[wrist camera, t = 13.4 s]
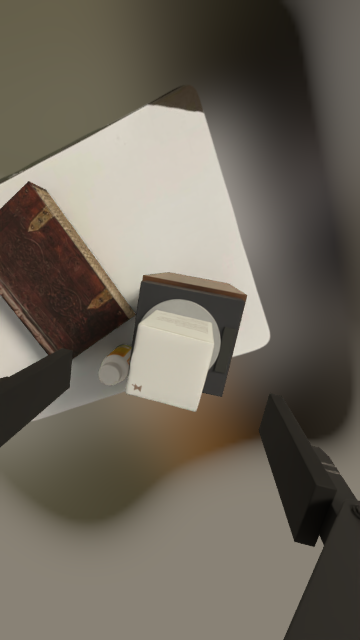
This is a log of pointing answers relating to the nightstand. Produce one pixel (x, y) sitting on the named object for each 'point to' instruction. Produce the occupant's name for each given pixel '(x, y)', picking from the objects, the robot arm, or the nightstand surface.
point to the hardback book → (54, 276)
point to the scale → (202, 307)
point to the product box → (170, 359)
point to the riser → (196, 285)
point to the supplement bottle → (115, 366)
